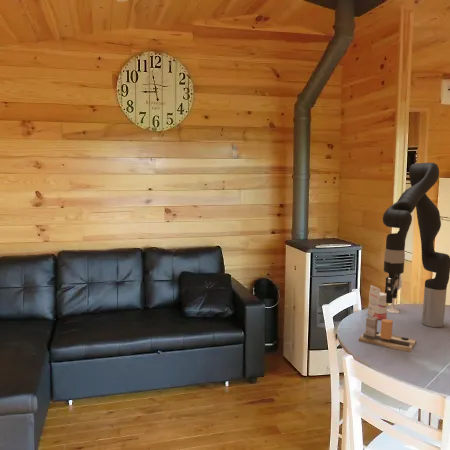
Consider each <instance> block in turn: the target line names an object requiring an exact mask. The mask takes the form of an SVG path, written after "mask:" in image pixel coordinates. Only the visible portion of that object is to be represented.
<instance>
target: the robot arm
mask: <svg viewBox="0 0 450 450" xmlns="http://www.w3.org/2000/svg"><path fill="white" fill-rule="evenodd" d="M439 176H440V169H439V165H438V164H437V163H435V162H419V163H416V162H415V163H412V164H411V165H410V166H409V169H408V177H409V181H410V182H409V184H410V187H409V188H407V189H406V190H404V191H403V192H402V194H401V195H400V196H399V198H398V199H397V201H396V202H395V203H393V204H392V205H391V206H389V207H388V208H387V209H386V210H385V211H384V213H383V215H382V222H383V225H384V226H385V227H388V228H395V229H399V230H398V231H397V232H393V233H388V234H387V235H386V241H385V251H384V257H383V259H384V260H383V271H384V273H387V274H388V276H387V277H386V278H385V286H384V287H385V288H384V294H386V303H387V304H391V305H392V298H395V299H397V298H398V297H397V296H398V291H397V289H398V287H399V279H400V274H401V275H402V274H404V273H405V272H404V271H405V258H406V257H405V256H406V255H405V254H406V253H405V251H406V250H405V248H406V239H407V236H408V232H409V229H410V226H411V224H412V222H413V215H412V213H413V212H414V210H416V211H415V212H416V218H417V224H418V230H419V236H420V245H421V261H422V262H421V263H422V267H423V268H424V270H425V271H428V272H429V273H430V272H432V273H435V277H434V278H429V279H425V281H424V289H423V303H422V315H421V324H423V325H425V326H427V327H431V328H432V327H433V328H442V327H444V326H445V325H444V323H445V316H446V315H445V313H446V301H447V289H448V288H447V287H448V283H449V280H450V255H449V254H448V253H444V252H439V251H435V247H434V245H435V244H434V243H435V242H434V241H435V239H436V237H437V235H438V233H439V232H440V230H441V227H442V222H441V220H442V219H441V213H440V210H439V209H438V207H437V205H436V204H435V203H434V201H432V200H431V198H429V196H428V195H427V193H428V191H430V189H432V187H434V185H435V184H436V183H437V182H438V180H439ZM388 283H389V284H388Z"/></svg>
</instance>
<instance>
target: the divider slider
mask: <svg viewBox="0 0 450 450" xmlns="http://www.w3.org/2000/svg"><path fill="white" fill-rule="evenodd" d="M380 323H381V324H380V333H381V336H380V338H383V339H388V340H390V339H391V337H392V335H393V323H394V320H393V319H392V320H391V319H387V318H386V319H381V322H380Z"/></svg>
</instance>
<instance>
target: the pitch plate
mask: <svg viewBox="0 0 450 450" xmlns="http://www.w3.org/2000/svg"><path fill="white" fill-rule="evenodd" d="M365 320H366V323H365V332H363V333H362V334H361V336H359V337H358V342H362V343H367V344H370V345H376V346H381V347H384V348H391V349H395V350H399V351H404V352H409V353H410V352H412V350H413V348H414V346H415V345H416V343H417V339H414V338H409V337H404V336H400V335H394V334H392V337H391V339H390V340H388V339H383V338H380V336H381V331H380V332H379V331H378V318H376V317H372V316H370V315H368V316H367V317H366V319H365Z"/></svg>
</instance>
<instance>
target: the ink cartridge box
mask: <svg viewBox="0 0 450 450" xmlns="http://www.w3.org/2000/svg"><path fill="white" fill-rule="evenodd" d="M386 294H387V293H385V292H383V291H382V292H381V288H379V287H377V286H374V285H373V284H370V286H369V295H368V308H367V315H368V314H369V315H368V316H371V317H376V318H378V320H383V319H387V315H388V312H387V309H388V303H386Z"/></svg>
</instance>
